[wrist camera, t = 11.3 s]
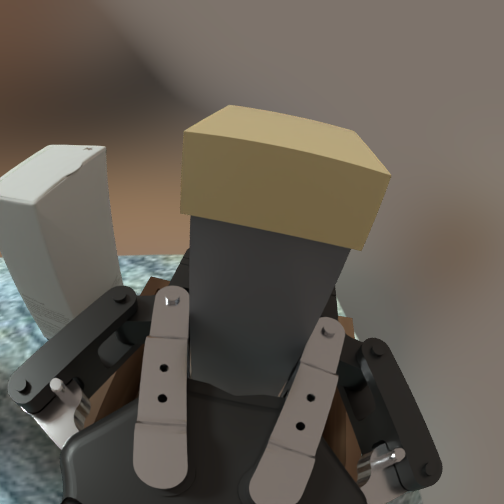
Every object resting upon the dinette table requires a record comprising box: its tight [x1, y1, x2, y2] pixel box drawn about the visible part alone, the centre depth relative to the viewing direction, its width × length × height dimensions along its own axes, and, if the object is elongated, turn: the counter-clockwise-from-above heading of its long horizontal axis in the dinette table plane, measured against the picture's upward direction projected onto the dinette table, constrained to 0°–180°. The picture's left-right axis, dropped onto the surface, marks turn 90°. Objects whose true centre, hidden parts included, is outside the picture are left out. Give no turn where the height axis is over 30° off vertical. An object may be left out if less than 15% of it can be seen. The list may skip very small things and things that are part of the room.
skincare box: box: [0, 145, 123, 339], centre depth 19 cm, size 8×7×16 cm
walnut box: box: [84, 277, 361, 482], centre depth 17 cm, size 16×14×6 cm
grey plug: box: [180, 105, 391, 397], centre depth 13 cm, size 4×4×18 cm
